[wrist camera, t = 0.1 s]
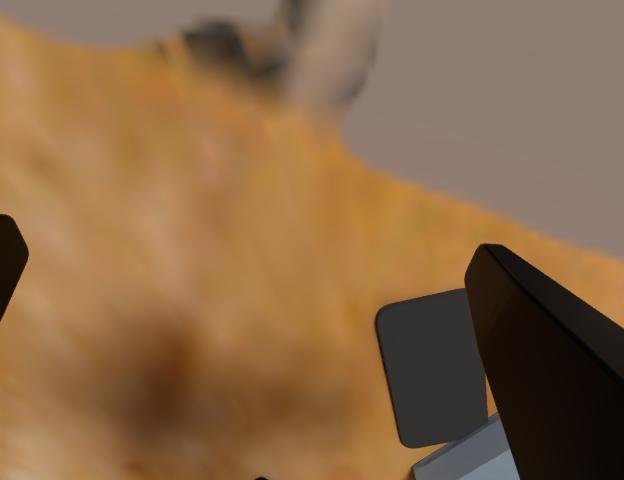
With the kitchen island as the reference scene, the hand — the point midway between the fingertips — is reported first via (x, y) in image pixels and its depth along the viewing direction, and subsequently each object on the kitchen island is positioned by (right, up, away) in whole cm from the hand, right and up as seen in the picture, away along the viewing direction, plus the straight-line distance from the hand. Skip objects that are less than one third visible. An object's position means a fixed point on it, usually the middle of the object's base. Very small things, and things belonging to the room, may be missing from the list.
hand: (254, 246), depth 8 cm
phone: (+11, -10, +23) cm, 27 cm away
